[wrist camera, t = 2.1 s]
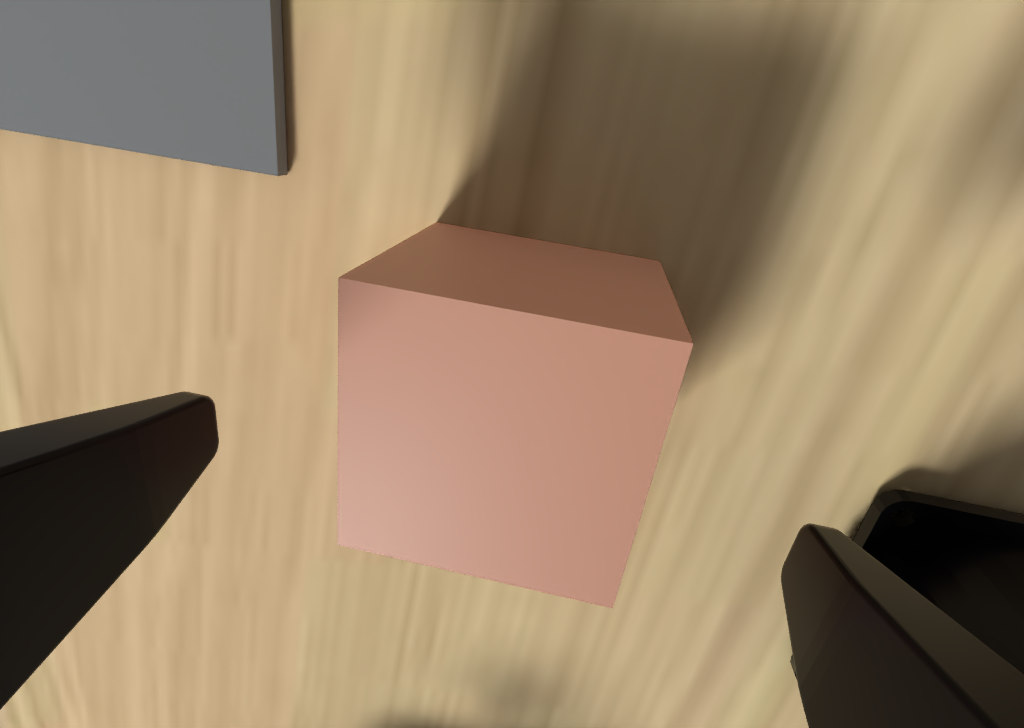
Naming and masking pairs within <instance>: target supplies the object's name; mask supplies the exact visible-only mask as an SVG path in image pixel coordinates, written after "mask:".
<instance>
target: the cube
mask: <svg viewBox="0 0 1024 728" xmlns="http://www.w3.org/2000/svg"><path fill="white" fill-rule="evenodd" d="M692 347H693V341H692V339H691V336H690V334H689V331H688V329H687V326H686V324H685V321H684V319H683V316H682V314H681V312H680V309H679V307H678V304H677V302H676V299H675V297H674V294H673V292H672V289H671V287H670V284H669V282H668V279H667V277H666V275H665V272H664V270H663V267H662V265H661V262H660V261H657V260H651V259H645V258H639V257H634V256H628V255H622V254H616V253H611V252H605V251H599V250H593V249H588V248H582V247H576V246H571V245H565V244H559V243H553V242H548V241H542V240H536V239H530V238H525V237H519V236H513V235H507V234H502V233H496V232H490V231H484V230H479V229H473V228H467V227H462V226H456V225H450V224H444V223H439V222H436V223H434V224H433V225H431V226H429V227H427V228H426V229H424V230H422V231H420V232H418V233H417V234H415V235H413V236H411V237H410V238H408V239H406V240H404V241H402V242H401V243H399V244H397V245H395V246H394V247H392V248H390V249H388V250H387V251H385V252H383V253H381V254H379V255H378V256H376V257H374V258H372V259H371V260H369V261H367V262H365V263H364V264H362V265H360V266H358V267H356V268H355V269H353V270H351V271H349V272H348V273H346V274H344V275H342V276H341V277H339V278H338V541H337V545H341V546H345V547H350V548H354V549H358V550H363V551H367V552H371V553H376V554H380V555H384V556H388V557H393V558H397V559H401V560H406V561H410V562H414V563H419V564H423V565H427V566H432V567H436V568H440V569H445V570H449V571H453V572H458V573H462V574H466V575H471V576H475V577H479V578H484V579H488V580H492V581H497V582H501V583H505V584H510V585H514V586H518V587H523V588H527V589H531V590H536V591H540V592H544V593H549V594H553V595H557V596H562V597H566V598H570V599H575V600H579V601H583V602H588V603H592V604H596V605H601V606H605V607H609V608H613V606H614V602H615V599H616V596H617V593H618V589H619V586H620V583H621V579H622V576H623V573H624V570H625V566H626V563H627V560H628V557H629V553H630V550H631V547H632V544H633V540H634V537H635V534H636V530H637V527H638V524H639V521H640V517H641V514H642V511H643V508H644V504H645V501H646V498H647V494H648V491H649V488H650V485H651V481H652V478H653V475H654V472H655V468H656V465H657V462H658V459H659V455H660V452H661V449H662V445H663V442H664V439H665V436H666V432H667V429H668V426H669V423H670V419H671V416H672V413H673V410H674V406H675V403H676V400H677V396H678V393H679V390H680V387H681V383H682V380H683V377H684V374H685V370H686V367H687V364H688V360H689V357H690V354H691V351H692Z"/></svg>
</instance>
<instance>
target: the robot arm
mask: <svg viewBox="0 0 1024 728" xmlns="http://www.w3.org/2000/svg"><path fill="white" fill-rule="evenodd" d="M218 444H219V438H218V429H217V420H216V410H215V404H214V402H213V400H212V399H211V398H210V397H208V396H205V395H200V394H195V393H191V392H179V393H174V394H170V395H165V396H161V397H156V398H152V399H147V400H143V401H138V402H134V403H129V404H125V405H120V406H115V407H111V408H106V409H102V410H97V411H93V412H88V413H84V414H79V415H75V416H70V417H66V418H61V419H57V420H52V421H47V422H43V423H38V424H34V425H29V426H25V427H20V428H16V429H11V430H7V431H2V432H0V709H1V708H2V707H3V706H4V705H5V704H6V703H7V702H8V701H9V699H10V698H11V697H12V696H13V695H14V694H15V693H16V692H17V690H18V689H19V688H20V687H21V686H22V685H23V684H24V683H25V682H26V680H27V679H28V678H29V677H30V676H31V675H32V674H33V673H34V671H35V670H36V669H37V668H38V667H39V666H40V665H41V664H42V663H43V661H44V660H45V659H46V658H47V657H48V656H49V655H50V654H51V652H52V651H53V650H54V649H55V648H56V647H57V646H58V645H59V644H60V642H61V641H62V640H63V639H64V638H65V637H66V636H67V635H68V633H69V632H70V631H71V630H72V629H73V628H74V627H75V626H76V624H77V623H78V622H79V621H80V620H81V619H82V618H83V617H84V616H85V614H86V613H87V612H88V611H89V610H90V609H91V608H92V607H93V605H94V604H95V603H96V602H97V601H98V600H99V599H100V598H101V597H102V595H103V594H104V593H105V592H106V591H107V590H108V589H109V588H110V586H111V585H112V584H113V583H114V582H115V581H116V580H117V579H118V578H119V576H120V575H121V574H122V573H123V572H124V571H125V570H126V569H127V567H128V566H129V565H130V564H131V563H132V562H133V561H134V560H135V559H136V557H137V556H138V555H139V554H140V553H141V552H142V551H143V550H144V548H145V547H146V546H147V545H148V544H149V543H150V541H151V540H152V539H153V538H154V537H155V536H156V534H157V533H158V532H159V530H160V529H161V528H162V527H163V525H164V524H165V523H166V521H167V520H168V519H169V517H170V516H171V515H172V513H173V512H174V511H175V509H176V508H177V506H178V505H179V504H180V502H181V501H182V500H183V498H184V497H185V496H186V494H187V493H188V492H189V490H190V489H191V487H192V486H193V485H194V483H195V482H196V481H197V479H198V478H199V477H200V475H201V474H202V473H203V471H204V470H205V468H206V467H207V466H208V464H209V463H210V462H211V460H212V459H213V457H214V456H215V454H216V452H217V449H218ZM901 509H906V510H905V511H904V512H903V513H902V514H900V515H897V516H892V515H893V514H894V513H895V512H896V511H899V510H901ZM781 583H782V590H783V596H784V602H785V609H786V615H787V621H788V627H789V634H790V640H791V646H792V652H793V655H792V656H791V661H790V662H791V665H792V668H793V671H794V674H795V676H796V679H797V681H798V687H799V691H800V695H801V699H802V703H803V707H804V711H805V715H806V719H807V722H808V726H809V728H1024V515H1023V514H1018V513H1013V512H1008V511H1003V510H998V509H993V508H988V507H983V506H978V505H973V504H969V503H964V502H959V501H954V500H949V499H944V498H939V497H934V496H929V495H924V494H919V493H914V492H909V491H904V490H893V491H889V492H885V493H883V494H882V495H880V496H878V497H877V498H876V500H875V501H874V502H873V504H872V505H871V507H870V509H869V511H868V513H867V515H866V517H865V519H864V521H863V522H862V524H861V526H860V528H859V530H858V532H857V534H856V536H855V538H854V539H853V541H852V540H851V539H849V538H848V537H847V536H845V535H844V534H843V533H842V532H840V531H839V530H837V529H834V528H830V527H825V526H820V525H815V524H806V525H804V526H803V527H802V528H801V529H800V531H799V532H798V535H797V537H796V539H795V541H794V543H793V545H792V547H791V550H790V552H789V554H788V556H787V558H786V560H785V562H784V565H783V568H782V574H781Z"/></svg>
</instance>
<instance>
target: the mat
mask: <svg viewBox="0 0 1024 728" xmlns="http://www.w3.org/2000/svg"><path fill="white" fill-rule="evenodd" d="M0 129H3V130H9V131H15V132H21V133H27V134H33V135H39V136H45V137H51V138H57V139H63V140H68V141H74V142H80V143H86V144H92V145H98V146H104V147H110V148H116V149H122V150H128V151H133V152H139V153H145V154H151V155H157V156H163V157H169V158H175V159H181V160H187V161H193V162H198V163H204V164H210V165H216V166H222V167H228V168H234V169H240V170H246V171H252V172H258V173H263V174H269V175H275V176H281V175H287V147H286V120H285V93H284V66H283V39H282V12H281V0H0Z"/></svg>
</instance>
